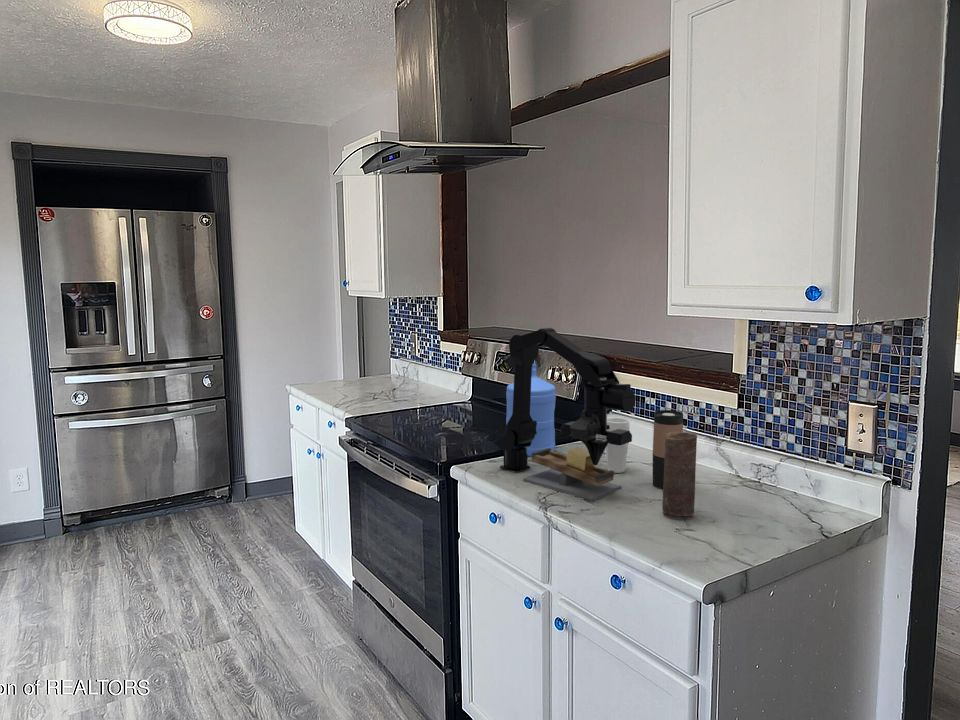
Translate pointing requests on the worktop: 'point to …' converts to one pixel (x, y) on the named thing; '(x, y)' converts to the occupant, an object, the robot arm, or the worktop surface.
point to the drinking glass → (617, 447)
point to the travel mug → (663, 440)
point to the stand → (571, 484)
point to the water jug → (538, 412)
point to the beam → (559, 464)
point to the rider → (580, 460)
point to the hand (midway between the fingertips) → (595, 465)
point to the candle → (679, 474)
